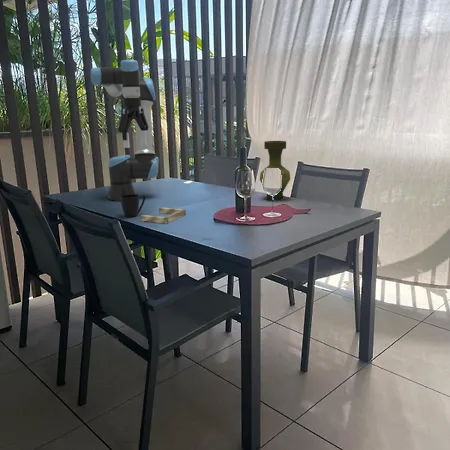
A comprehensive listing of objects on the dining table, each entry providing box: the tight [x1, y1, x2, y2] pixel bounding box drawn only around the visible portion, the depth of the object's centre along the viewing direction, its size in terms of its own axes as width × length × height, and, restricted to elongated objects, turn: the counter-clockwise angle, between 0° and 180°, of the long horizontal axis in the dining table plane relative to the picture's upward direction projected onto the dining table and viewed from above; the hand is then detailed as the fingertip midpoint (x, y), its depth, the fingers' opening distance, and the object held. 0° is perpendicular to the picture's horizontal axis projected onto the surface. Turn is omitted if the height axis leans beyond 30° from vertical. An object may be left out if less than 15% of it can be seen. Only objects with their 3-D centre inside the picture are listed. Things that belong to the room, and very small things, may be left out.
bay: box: [139, 206, 187, 225], centre depth 203 cm, size 14×17×2 cm
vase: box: [259, 140, 291, 201], centre depth 234 cm, size 16×16×30 cm
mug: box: [120, 193, 146, 218], centre depth 208 cm, size 8×12×10 cm
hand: (135, 146), depth 202 cm, fingers open, 13 cm apart
